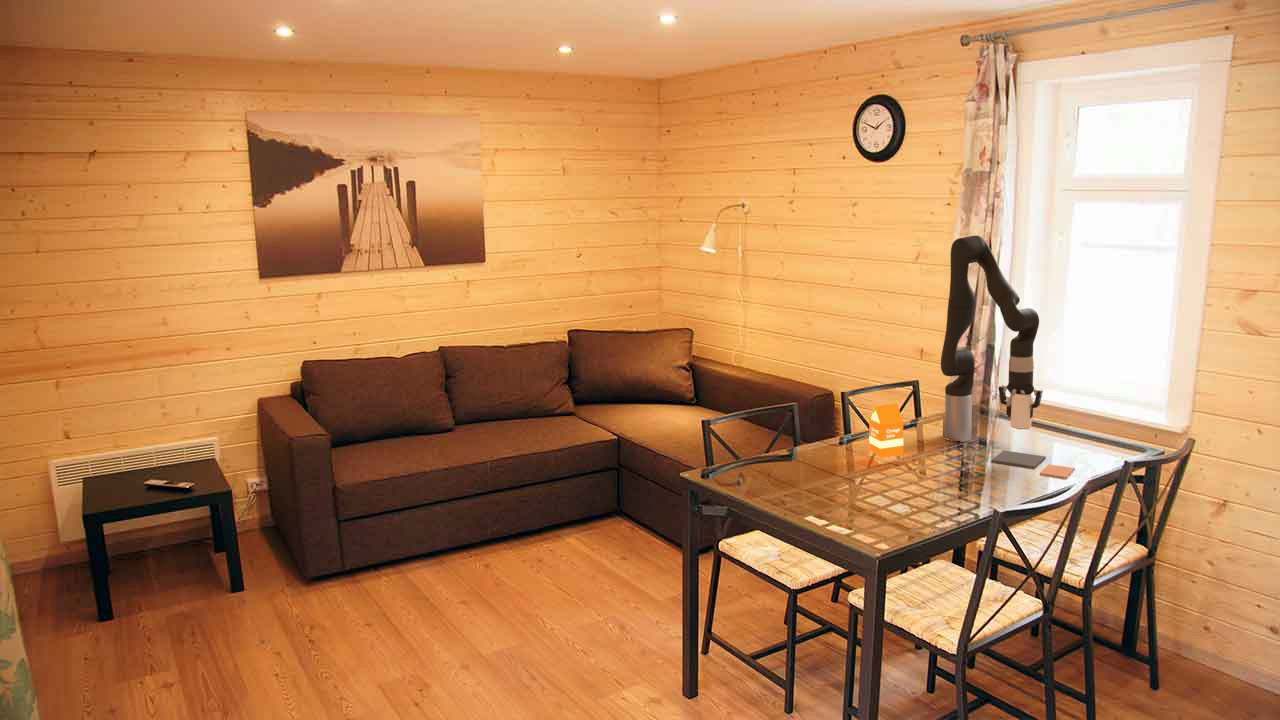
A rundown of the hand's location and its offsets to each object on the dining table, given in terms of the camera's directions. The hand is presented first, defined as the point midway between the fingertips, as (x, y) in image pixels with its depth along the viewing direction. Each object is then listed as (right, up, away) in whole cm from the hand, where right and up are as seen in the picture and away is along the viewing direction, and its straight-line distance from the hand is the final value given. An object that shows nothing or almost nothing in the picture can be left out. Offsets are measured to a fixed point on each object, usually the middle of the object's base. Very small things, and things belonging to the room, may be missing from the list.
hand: (1019, 417), depth 303 cm
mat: (+1, -15, +3) cm, 15 cm away
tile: (+11, -16, -7) cm, 20 cm away
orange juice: (-42, -16, +11) cm, 46 cm away
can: (+1, -3, +1) cm, 3 cm away
